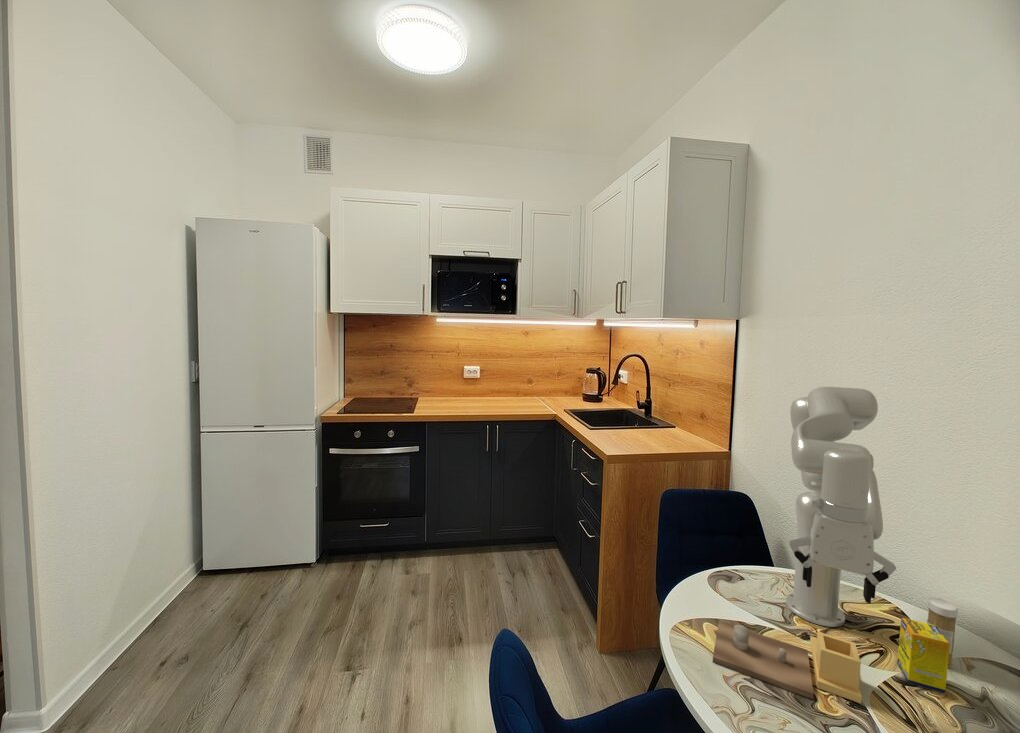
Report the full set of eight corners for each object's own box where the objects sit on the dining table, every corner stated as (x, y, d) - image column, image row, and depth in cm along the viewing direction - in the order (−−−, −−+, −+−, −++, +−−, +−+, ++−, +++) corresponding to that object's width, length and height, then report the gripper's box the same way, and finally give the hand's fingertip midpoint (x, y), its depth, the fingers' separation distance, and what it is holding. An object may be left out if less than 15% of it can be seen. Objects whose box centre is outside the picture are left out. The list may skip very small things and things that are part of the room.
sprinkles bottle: (954, 663, 94) (960, 605, 93) (949, 671, 91) (955, 612, 90) (926, 650, 98) (931, 594, 97) (920, 658, 95) (925, 601, 94)
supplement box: (896, 663, 93) (900, 616, 93) (932, 673, 91) (936, 625, 90) (907, 683, 88) (912, 633, 87) (946, 694, 85) (951, 643, 85)
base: (718, 625, 105) (719, 605, 104) (806, 654, 95) (808, 632, 95) (712, 661, 93) (713, 639, 92) (813, 699, 83) (814, 674, 83)
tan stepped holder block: (861, 703, 83) (864, 667, 82) (817, 687, 86) (819, 652, 86) (847, 653, 96) (850, 622, 95) (810, 641, 100) (812, 611, 99)
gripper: (792, 507, 88) (787, 586, 89) (904, 528, 78) (896, 617, 79) (791, 496, 94) (786, 570, 95) (894, 514, 85) (887, 597, 86)
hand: (836, 591), depth 87 cm, fingers open, 9 cm apart
